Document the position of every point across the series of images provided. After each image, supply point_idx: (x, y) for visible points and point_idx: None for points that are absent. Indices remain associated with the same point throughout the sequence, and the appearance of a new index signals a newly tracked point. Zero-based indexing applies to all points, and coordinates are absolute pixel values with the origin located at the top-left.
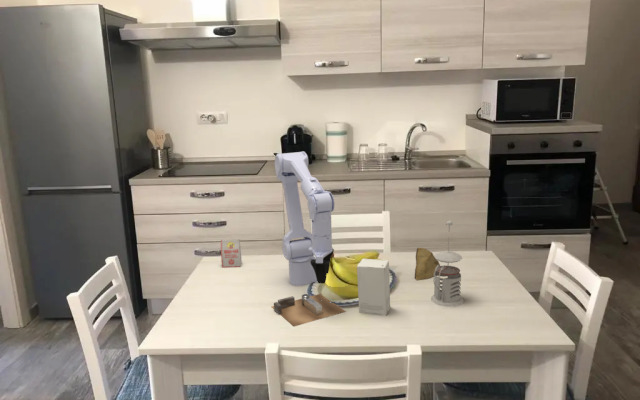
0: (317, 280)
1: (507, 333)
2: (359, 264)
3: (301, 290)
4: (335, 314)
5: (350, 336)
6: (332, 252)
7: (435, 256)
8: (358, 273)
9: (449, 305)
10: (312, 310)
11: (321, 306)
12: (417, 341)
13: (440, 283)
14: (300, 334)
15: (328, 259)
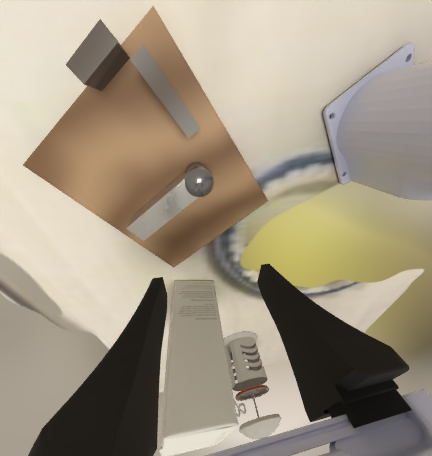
0: (148, 288)
1: (164, 376)
2: (180, 437)
3: (317, 133)
4: (153, 253)
5: (81, 283)
6: (306, 407)
7: (263, 422)
8: (165, 400)
9: None
10: (146, 206)
11: (143, 238)
12: (113, 342)
13: (258, 353)
14: (18, 188)
15: (288, 347)
